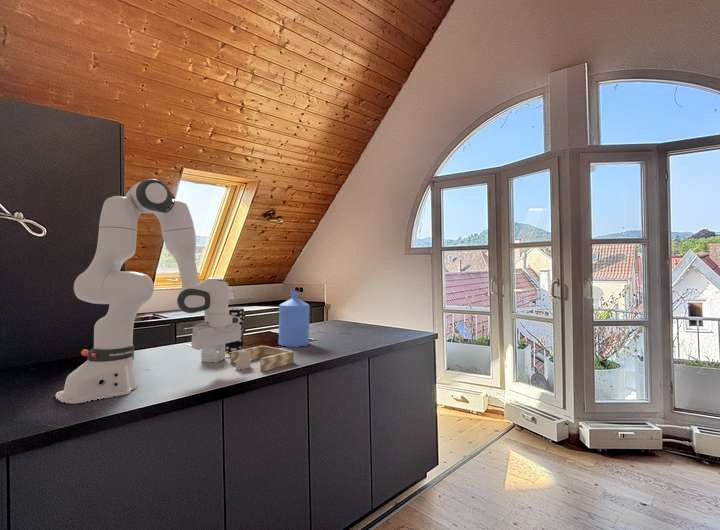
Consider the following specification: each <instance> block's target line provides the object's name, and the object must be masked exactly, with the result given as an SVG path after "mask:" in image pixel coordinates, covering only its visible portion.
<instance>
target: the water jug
mask: <svg viewBox="0 0 720 530" xmlns="http://www.w3.org/2000/svg"><path fill="white" fill-rule="evenodd" d="M298 291H299V290H291V297H290V299H287V300H286V301H284V302H282V303H280V304H279V308H278V313H279V315H278V316H279V317H278V320H279V322H278V341H277V342H278V345H279V346H280V345H281V347H283V346H287V347H286V348H300V347H299V346H304V347H306V346H305V345H307V346H309V344H310V311H311V309H310V304H309V303H307V302H306V301H303V300H301V299H300V298H299V297H298V295H299V292H298Z"/></svg>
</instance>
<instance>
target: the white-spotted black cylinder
mask: <svg viewBox="0 0 720 530" xmlns="http://www.w3.org/2000/svg"><path fill="white" fill-rule="evenodd" d="M228 308H229V315H232V316H236V317H239V318H240V322H239V324H240V326H241V338H240V340H239V341H234V342H230V343H226V344H225V353H228V352H233V351H238V350H243V349H244V334H245V333H244V331H245V329H244V328H245V327H244V326H245V325H244V323H245V309H244V308H242V307H235V308H234V307H231V308H230V307H228Z"/></svg>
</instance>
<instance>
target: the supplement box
mask: <svg viewBox="0 0 720 530" xmlns="http://www.w3.org/2000/svg"><path fill="white" fill-rule="evenodd" d="M218 348H219V346H218V345H217V346H216V351H218ZM200 358H201V359H200V361H201V363H211V362H215V364H217V363H218V362H221V361H223V359H224V360H225V359H226V352H225V347H224V349H223V351H222V356H219V357H213V352H212V351H211V349H210V347H208V348H204V349H201V356H200Z"/></svg>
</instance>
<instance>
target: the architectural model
mask: <svg viewBox="0 0 720 530" xmlns="http://www.w3.org/2000/svg"><path fill="white" fill-rule="evenodd" d="M253 360H254V359H251V350H250V351H243V352H239V357H237V358H236V360H235V361H234V362H236V364H235V370H236V369H238V370H237V371H241V370H240V369H242V370H246V369H245V368H247V369H250V368H251V362H252V361H253ZM249 367H250V368H249Z"/></svg>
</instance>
